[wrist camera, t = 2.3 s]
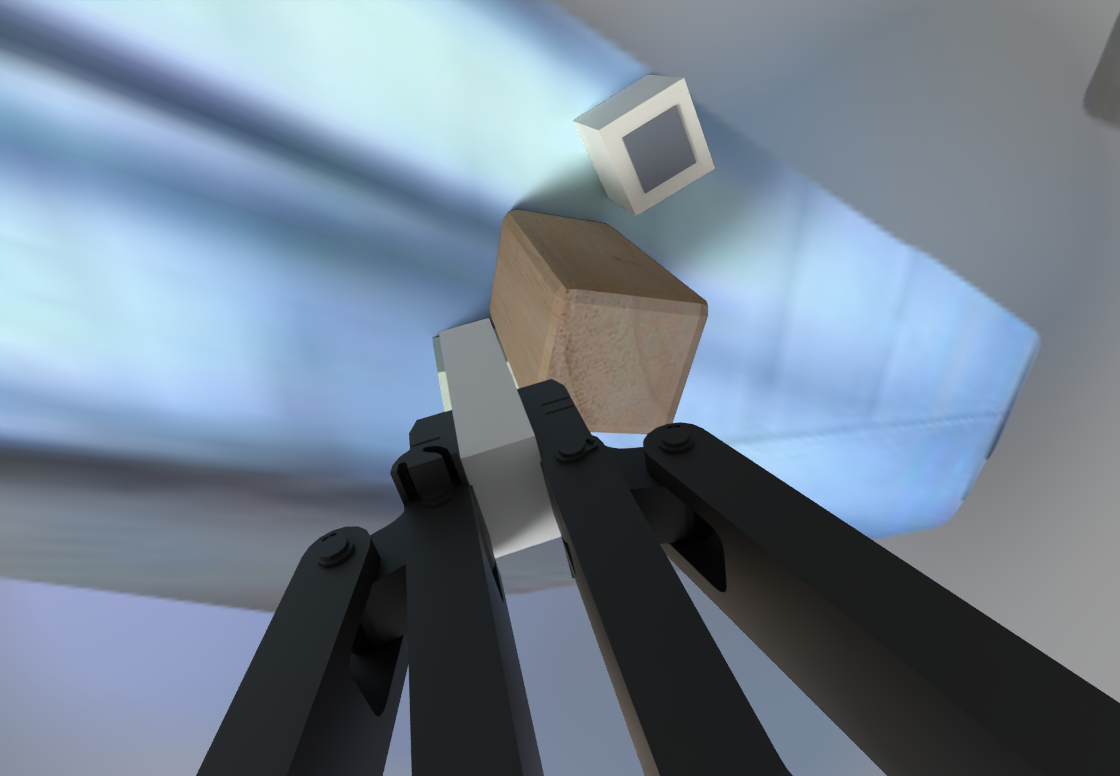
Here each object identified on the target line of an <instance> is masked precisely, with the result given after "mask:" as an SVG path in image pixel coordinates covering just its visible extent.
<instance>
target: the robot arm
mask: <svg viewBox="0 0 1120 776" xmlns="http://www.w3.org/2000/svg"><path fill="white" fill-rule="evenodd" d="M439 337H440V343H441V349H442V354H443V360H444V366H445V372H446V377H447V383H448V389H449V395H450V400H451V406H452V410H450V411H446V412H443V413H439V414H436V415H433V416H429V417H426V418H423V419H419V420H417V421H416V423H415V424H414V426H413V428H412V430H411V431H410V433H409V440H410V450H409V451H408V452H406V453H405V454H403V455H402V456H400V457H399V458H398V460H397V461H396V462H395V463H394V464H393V466H392V469H391V473H390V474H391V476H392V478H393V481H394V483H395V485H396V488H397V490H398V492H399V495H400V497H401V499H402V502H403V504H404V512H403V514H402V515H401V516H400V517H398V518H397V519H396V520H395V521H394V522H392V523H391V524H389V525H388V526H386V527H384V528H383V529H381V530H379V531H377V532H375V533H374V534H372V535H369V534H368V532H367V530H365V529H363V528H360V527H343V528H340V529H336V530H333V531H331V532H329V533H327V534H326V535H324V536H322V537H320V538H319V539H318V540H317V541H315V542H314V543H313V544H312V545H311V546H310V547H309V548H308V549H307V551H306V552H305V554H304V555H303V556H302V558H301V560H300V562H299V564H298V566H297V569H296V571H295V573H294V575H293V577H292V579H291V581H290V583H289V585H288V587H287V589H286V591H285V593H284V595H283V597H282V599H281V602H280V604H279V606H278V608H277V610H276V612H275V614H274V616H273V618H272V620H271V622H270V624H269V626H268V629H267V630H266V633H265V635H264V637H263V639H262V641H261V643H260V645H259V647H258V649H257V651H256V653H255V655H254V657H253V660H252V662H251V664H250V666H249V668H248V670H247V672H246V674H245V676H244V678H243V680H242V682H241V684H240V686H239V689H238V691H237V692H236V694H235V697H234V699H233V701H232V703H231V705H230V707H229V709H228V711H227V713H226V715H225V717H224V719H223V721H222V723H221V725H220V727H219V730H218V732H217V734H216V736H215V738H214V740H213V742H212V744H211V746H210V748H209V751H208V752H207V754H206V756H205V758H204V761H203V763H202V765H201V767H200V769H199V771H198V773H197V775H196V776H383V772H384V767H385V763H386V758H387V754H388V750H389V746H390V741H391V737H392V732H393V728H394V724H395V720H396V715H397V711H398V707H399V703H400V698H401V694H402V689H403V685H404V681H405V676H406V672H407V668H408V664H409V688H410V690H409V691H410V725H411V760H412V776H544V774H543V769H542V764H541V760H540V756H539V751H538V746H537V741H536V737H535V732H534V727H533V723H532V718H531V714H530V709H529V705H528V700H527V695H526V691H525V686H524V681H523V677H522V672H521V668H520V663H519V659H518V654H517V649H516V645H515V640H514V635H513V631H512V626H511V622H510V617H509V612H508V608H507V604H506V598H505V594H504V589H503V585H502V580H501V575H500V573H499V570H498V567H497V564H496V561H495V558H497V557H500V556H503V555H506V554H509V553H513V552H516V551H519V550H522V549H525V548H528V547H531V546H534V545H537V544H540V543H543V542H546V541H549V540H552V539H555V538H558V537H561V536H562V540H563V544H564V548H565V552H566V555H567V559H568V563H569V567H570V570H571V574H572V578H575V580H576V583H577V586H578V589H579V591H580V594H581V597H582V600H583V603H584V605H585V608H586V611H587V614H588V617H589V620H590V622H591V625H592V628H593V631H594V634H595V636H596V639H597V642H598V645H599V648H600V650H601V653H602V656H603V659H604V662H605V665H606V668H607V670H608V673H609V676H610V679H611V681H612V684H613V687H614V690H615V692H616V696H617V698H618V701H619V704H620V707H621V710H622V712H623V715H624V718H625V721H626V724H627V727H628V729H629V732H630V735H631V738H632V741H633V743H634V746H635V749H636V752H637V755H638V758H639V760H640V763H641V766H642V769H643V772H644V775H645V776H792V774H791V773H790V772H789V771H788V770H787V768H786V767H785V765H784V764H783V762H782V760H781V759H780V757H779V755H778V753H777V752H776V750H775V748H774V746H773V744H772V743H771V741H770V739H769V738H768V736H767V734H766V732H765V730H764V729H763V727H762V725H761V723H760V721H759V720H758V718H757V716H756V714H755V713H754V711H753V709H752V707H751V705H750V703H749V702H748V700H747V698H746V696H745V695H744V693H743V691H742V689H741V688H740V686H739V684H738V682H737V680H736V679H735V677H734V675H733V673H732V671H731V670H730V668H729V666H728V664H727V663H726V661H725V659H724V657H723V655H722V654H721V652H720V650H719V648H718V647H717V645H716V643H715V641H714V639H713V638H712V636H711V634H710V632H709V631H708V629H707V627H706V625H705V623H704V622H703V620H702V618H701V616H700V615H699V613H698V611H697V609H696V607H695V606H694V604H693V602H692V600H691V598H690V597H689V595H688V593H687V591H686V590H685V588H684V586H683V584H682V582H681V581H680V579H679V577H678V575H677V574H676V572H675V570H674V568H673V566H672V565H671V563H670V561H669V559H668V558H667V556H668V557H669V558H670V559H671V560H672V561H673V562H674V563H675V564H676V565H677V566H678V567H679V568H680V569H681V570H682V571H683V572H684V573H685V574H686V575H687V576H688V577H689V578H690V579H691V580H692V581H693V582H694V583H695V584H696V585H697V586H698V587H699V588H700V589H701V590H702V591H703V592H704V593H705V594H706V595H707V596H708V597H709V598H710V599H711V600H712V601H713V602H714V603H715V604H716V605H717V606H718V607H719V608H720V609H721V610H722V611H723V612H724V613H725V614H726V615H727V616H728V617H729V618H730V619H731V620H732V621H733V622H734V623H735V624H736V625H737V626H738V627H739V628H740V629H741V630H742V631H743V632H744V633H745V634H746V635H747V636H748V637H749V638H750V639H751V640H752V641H753V642H754V643H755V644H756V645H757V646H758V647H759V648H760V649H761V650H762V651H763V652H764V653H765V654H766V655H767V656H768V657H769V658H770V659H771V660H772V661H773V662H774V663H775V664H776V665H777V666H778V667H779V668H780V669H781V670H782V671H783V672H784V673H785V674H786V675H787V676H788V677H789V678H790V679H791V680H792V681H793V682H794V683H795V684H796V685H797V686H798V687H799V688H800V689H801V690H802V691H803V692H804V693H805V694H806V695H807V696H808V697H809V698H810V699H811V700H812V701H813V702H814V703H815V704H816V705H817V706H818V707H819V708H820V709H821V710H822V711H823V712H824V713H825V714H826V715H827V716H828V717H829V718H830V719H831V720H832V721H833V722H834V723H835V724H836V725H837V726H838V727H839V728H840V729H841V730H842V731H843V732H844V733H845V734H846V735H847V736H848V737H849V738H850V739H851V740H852V741H853V742H854V743H855V744H856V745H857V746H858V747H859V748H860V749H861V750H862V751H863V752H864V753H865V754H866V755H867V756H868V757H869V758H870V759H871V760H872V761H873V762H874V763H875V764H876V765H877V766H878V767H879V768H880V769H881V770H882V771H883V772H884V773H885V774H886V775H887V776H1120V703H1119V702H1117V701H1116V700H1114V699H1113V698H1111V697H1110V696H1108V695H1106V694H1105V693H1104V692H1102V691H1101V690H1099V689H1097V688H1096V687H1094V686H1093V685H1091V684H1090V683H1088V682H1087V681H1085V680H1084V679H1082V678H1081V677H1079V676H1078V675H1076V674H1075V673H1073V672H1072V671H1070V670H1069V669H1067V668H1066V667H1064V666H1063V665H1061V664H1059V663H1058V662H1056V661H1055V660H1053V659H1052V658H1050V657H1049V656H1047V655H1046V654H1044V653H1043V652H1041V651H1040V650H1038V649H1037V648H1035V647H1034V646H1032V645H1031V644H1029V643H1027V642H1026V641H1025V640H1023V639H1022V638H1020V637H1019V636H1017V635H1015V634H1014V633H1012V632H1011V631H1009V630H1008V629H1006V628H1005V627H1003V626H1001V625H1000V624H999V623H997V622H996V621H994V620H993V619H991V618H990V617H988V616H986V615H985V614H984V613H982V612H981V611H979V610H977V609H976V608H974V607H973V606H971V605H970V604H968V603H967V602H965V601H964V600H962V599H961V598H959V597H958V596H956V595H955V594H953V593H951V592H950V591H949V590H947V589H945V588H944V587H942V586H941V585H939V584H938V583H936V582H935V581H933V580H932V579H930V578H929V577H927V576H926V575H924V574H923V573H921V572H920V571H918V570H917V569H915V568H914V567H912V566H911V565H909V564H908V563H906V562H905V561H903V560H902V559H900V558H899V557H897V556H895V555H894V554H892V553H891V552H889V551H888V550H886V549H885V548H883V547H882V546H880V545H879V544H877V543H876V542H874V541H873V540H871V539H870V538H868V537H867V536H865V535H864V534H862V533H861V532H859V531H858V530H856V529H855V528H853V527H852V526H850V525H848V524H847V523H845V522H844V521H842V520H841V519H839V518H838V517H836V516H835V515H833V514H832V513H830V512H829V511H827V510H826V509H824V508H823V507H821V506H820V505H818V504H817V503H815V502H814V501H812V500H811V499H809V498H807V497H806V496H804V495H803V494H801V493H800V492H798V491H797V490H795V489H794V488H792V487H791V486H789V485H788V484H786V483H785V482H783V481H782V480H780V479H779V478H777V477H776V476H774V475H773V474H771V473H770V472H768V471H766V470H765V469H763V468H762V467H760V466H759V465H757V464H756V463H754V462H753V461H751V460H750V459H748V458H747V457H745V456H744V455H742V454H741V453H739V452H738V451H736V450H735V449H733V448H732V447H730V446H729V445H727V444H725V443H724V442H722V441H721V440H719V439H718V438H716V437H715V436H713V435H712V434H710V433H709V432H707V431H706V430H704V429H703V428H700V427H698V426H696V425H693V424H688V423H671V424H666V425H663V426H660V427H657V428H655V429H654V430H652V431H651V432H650V433H648V434H647V436H646V438H645V439H644V441H643V447H639V448H625V449H618V448H611V447H607V446H605V445H604V444H603V442H602V441H601V440H600V439H599V438H598V437H595V436H593V435H591V433H590V431H589V429H588V428H587V426H586V424H585V422H584V420H583V418H582V417H581V415H580V413H579V411H578V409H577V407H575V404H574V402H573V400H572V398H571V397H570V395H569V393H568V391H567V389H566V387H565V386H564V385H563V384H561V383H559V382H557V381H555V380H553V379H549V380H546V381H542V382H539V383H536V384H532V385H529V386H525V387H522V388H519V389H516V386H515V383H514V381H513V378H512V376H511V373H510V371H509V368H508V366H507V363H506V360H505V358H504V355H503V353H502V350H501V348H500V345H499V342H498V340H497V337H496V335H495V332H494V330H493V327H492V325H491V322H490V319H489V318H487V319H483V320H479V321H476V322H472V323H469V324H465V325H462V326H458V327H454V328H451V329H447V330H444V331H440V332H439ZM666 555H667V556H666ZM494 556H495V558H494Z"/></svg>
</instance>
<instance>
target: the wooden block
mask: <svg viewBox="0 0 1120 776" xmlns="http://www.w3.org/2000/svg"><path fill="white" fill-rule="evenodd" d="M489 311H490V315H491V318H492V321H493V323H494V326H495V328H496V331H497V334H498V336H499V339H500V341H501V344H502V346H503V349H504V351H505V354H506V357H507V359H508V362H509V364H510V367H511V369H512V372H513V375H514V377H515V380H516V382H517V385H518V387H519V388H522V387H525V386H529V385H532V384H536V383H539V382H542V381H546V380H549V379H553V380H555V381H557V382H559V383H561V384H563V385H564V386H565V387H566V389H567V391H568V393H569V395H570V397H571V398H572V400H573V402H574V404H575V407H577V409H578V411H579V413H580V415H581V417H582V418H583V420H584V422H585V424H586V426H587V428H588V429H589V431H590V432H603V433H628V434H648V433H650V432H651V431H652V430H654V429H655V428H657V427H660V426H663V425H666V424H671V423H673V420H674V417H675V414H676V411H677V408H678V405H679V402H680V399H681V396H682V393H683V390H684V387H685V384H686V381H687V378H688V375H689V372H690V369H691V365H692V362H693V359H694V356H695V353H696V350H697V347H698V344H699V341H700V338H701V335H702V332H703V329H704V326H705V323H706V320H707V317H708V305H707V302H706V300H704V299H703V298H702V297H701V296H699V295H698V294H697V293H695V292H694V291H693V290H692V289H690V288H689V287H688V286H687V285H685V284H684V283H683V282H681V281H680V280H679V279H678V278H676V277H675V276H674V275H672V274H671V273H670V272H669V271H667V270H666V269H665V268H664V267H662V266H661V265H660V264H658V263H657V262H656V261H655V260H653V259H652V258H651V257H649V256H648V255H647V254H646V253H644V252H643V251H642V250H641V249H639V248H638V247H637V246H635V245H634V244H633V243H632V242H630V241H629V240H628V239H627V238H625V237H624V236H623V235H621V234H620V233H619V232H618V231H616V230H615V229H614V228H612V227H611V226H609V225H608V224H606V223H600V222H594V221H587V220H581V219H574V218H568V217H562V216H555V215H549V214H543V213H536V212H530V211H523V210H513V211H509V212H508V213H507V214H506V216H505V218H504V219H503V225H502V231H501V238H500V244H499V250H498V257H497V263H496V270H495V276H494V282H493V289H492V295H491V302H490V308H489Z"/></svg>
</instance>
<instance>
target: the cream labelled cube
mask: <svg viewBox="0 0 1120 776" xmlns="http://www.w3.org/2000/svg"><path fill="white" fill-rule="evenodd" d="M573 123H574V125H575V127H576V129H577V132H578V134H579V136H580V138H581V140H582V142H583V145H584V147H585V149H586V151H587V153H588V155H589V158H590V160H591V162H592V164H593V166H594V168H595V171H596V173H597V175H598V177H599V179H600V181H601V184H602V186H603V188H604V190H605V192H606V195H607V197H608V198H609V199H611V200H612V201H614V202H615V203H617V204H618V205H620V206H621V207H623V208H624V209H626V210H627V211H629V212H630V213H632V214H633V215H635V216H638V215H639V214H641V213H643V212H644V211H646V210H648V209H649V208H651V207H653V206H654V205H656V204H657V203H659V202H661V201H662V200H664V199H666V198H667V197H669V196H671V195H672V194H674V193H676V192H677V191H679V190H681V189H682V188H684V187H685V186H687V185H689V184H690V183H692V182H694V181H695V180H697V179H699V178H700V177H702V176H704V175H705V174H707V173H709V172H710V171H712V170H714V169H715V167H714V164H713V161H712V158H711V155H710V152H709V149H708V146H707V143H706V140H705V137H704V134H703V132H702V129H701V126H700V123H699V120H698V117H697V114H696V111H695V108H694V105H693V102H692V99H691V96H690V93H689V90H688V88H687V85H686V82H685V79H684V78H682V77H671V76H659V75H646V76H644V77H643V78H641V79H639V80H638V81H636V82H635V83H633V84H631V85H630V86H628V87H627V88H625V89H623V90H622V91H620V92H618V93H617V94H615V95H614V96H612V97H610V98H609V99H607V100H605V101H604V102H602V103H601V104H599V105H597V106H596V107H594V108H592V109H591V110H589V111H588V112H586V113H584V114H583V115H581V116H579V117H578V118H576V119H575V120H573Z"/></svg>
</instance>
